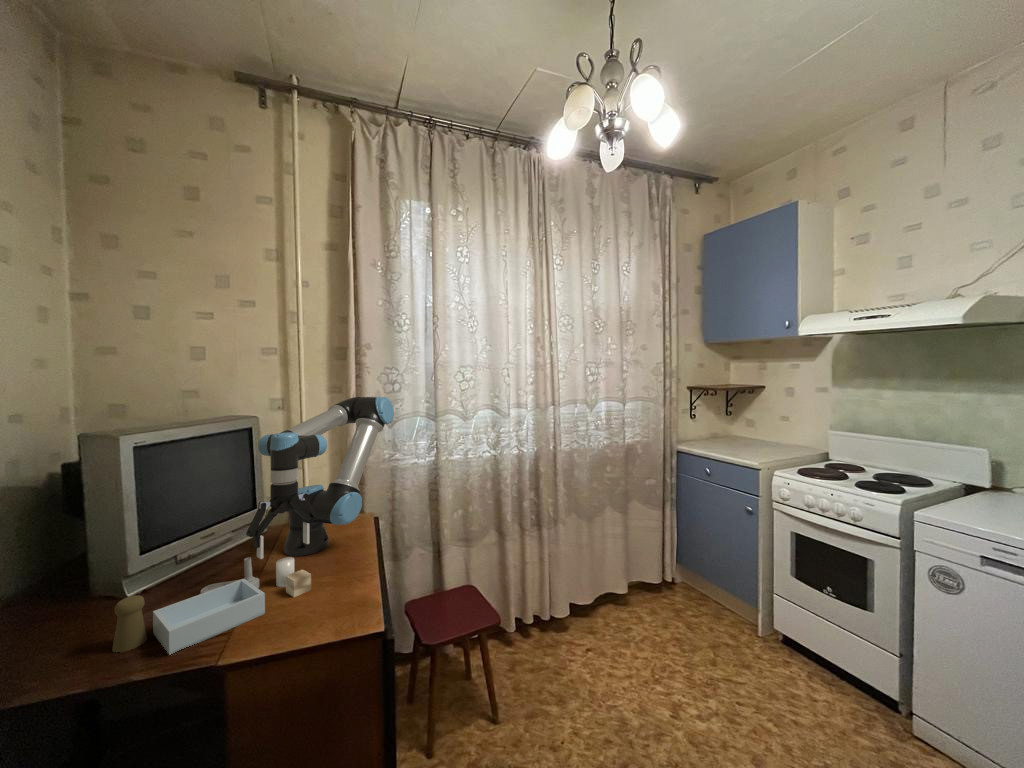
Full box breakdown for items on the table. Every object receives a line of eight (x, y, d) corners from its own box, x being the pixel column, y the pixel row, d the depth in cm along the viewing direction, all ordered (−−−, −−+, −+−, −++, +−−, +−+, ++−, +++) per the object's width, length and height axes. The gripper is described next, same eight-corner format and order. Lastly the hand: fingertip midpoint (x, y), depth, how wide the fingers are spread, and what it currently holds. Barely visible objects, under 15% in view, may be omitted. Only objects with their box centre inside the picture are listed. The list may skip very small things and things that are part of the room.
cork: (127, 636, 96) (127, 592, 96) (154, 635, 97) (153, 591, 97) (104, 653, 90) (104, 606, 90) (132, 651, 91) (132, 604, 91)
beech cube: (302, 585, 121) (302, 569, 121) (311, 590, 118) (310, 573, 118) (285, 592, 116) (285, 575, 116) (293, 597, 114) (293, 580, 114)
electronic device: (204, 561, 117) (260, 553, 121) (206, 593, 117) (262, 584, 121) (195, 569, 112) (254, 561, 116) (197, 602, 112) (255, 593, 116)
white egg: (290, 577, 125) (289, 555, 125) (297, 581, 123) (297, 559, 123) (273, 583, 121) (273, 561, 121) (280, 588, 119) (280, 565, 119)
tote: (244, 597, 114) (244, 578, 114) (264, 613, 105) (264, 593, 105) (153, 633, 97) (153, 611, 97) (169, 656, 89) (169, 631, 89)
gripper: (317, 473, 134) (317, 535, 134) (233, 488, 114) (233, 561, 114) (329, 476, 130) (328, 539, 130) (243, 492, 110) (243, 568, 109)
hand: (284, 550), depth 122 cm, fingers open, 13 cm apart
